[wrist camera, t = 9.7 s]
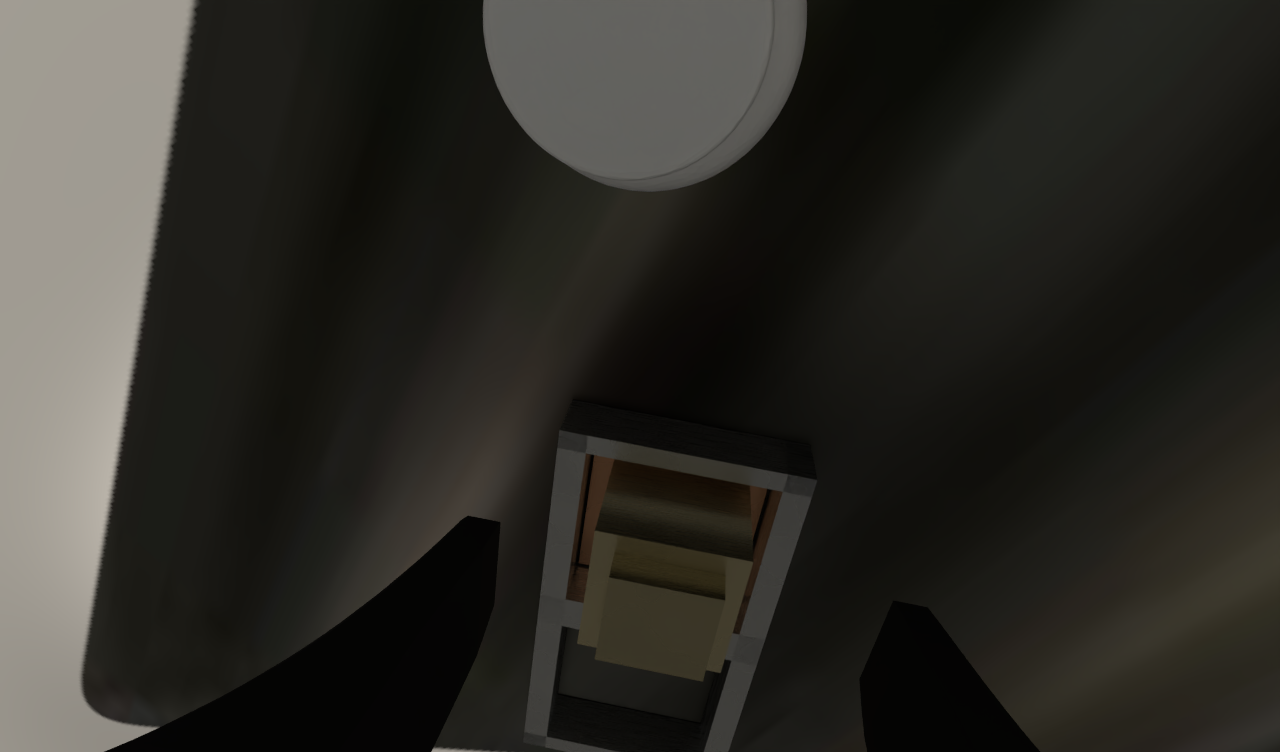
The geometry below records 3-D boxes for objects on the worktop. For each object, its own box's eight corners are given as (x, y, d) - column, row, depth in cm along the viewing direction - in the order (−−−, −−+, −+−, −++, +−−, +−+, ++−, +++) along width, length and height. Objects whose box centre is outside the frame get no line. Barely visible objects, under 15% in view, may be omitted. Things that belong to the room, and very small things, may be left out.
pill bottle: (813, 86, 18) (890, 132, 9) (631, 177, 20) (552, 289, 11) (730, -138, 16) (729, -340, 7) (536, -17, 18) (350, -69, 9)
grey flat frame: (718, 738, 30) (717, 783, 28) (535, 700, 30) (523, 742, 28) (810, 445, 23) (817, 480, 21) (572, 399, 23) (559, 430, 21)
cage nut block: (722, 571, 25) (720, 700, 20) (601, 547, 25) (570, 670, 20) (749, 471, 23) (754, 587, 18) (618, 445, 23) (588, 554, 18)
